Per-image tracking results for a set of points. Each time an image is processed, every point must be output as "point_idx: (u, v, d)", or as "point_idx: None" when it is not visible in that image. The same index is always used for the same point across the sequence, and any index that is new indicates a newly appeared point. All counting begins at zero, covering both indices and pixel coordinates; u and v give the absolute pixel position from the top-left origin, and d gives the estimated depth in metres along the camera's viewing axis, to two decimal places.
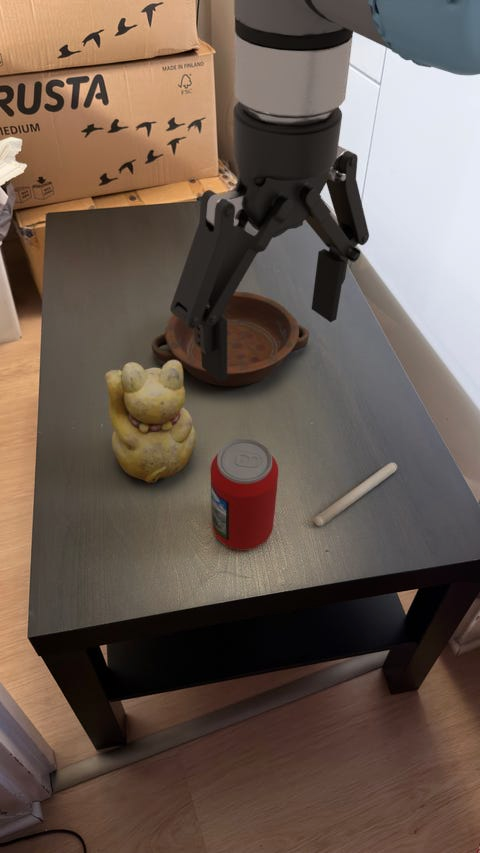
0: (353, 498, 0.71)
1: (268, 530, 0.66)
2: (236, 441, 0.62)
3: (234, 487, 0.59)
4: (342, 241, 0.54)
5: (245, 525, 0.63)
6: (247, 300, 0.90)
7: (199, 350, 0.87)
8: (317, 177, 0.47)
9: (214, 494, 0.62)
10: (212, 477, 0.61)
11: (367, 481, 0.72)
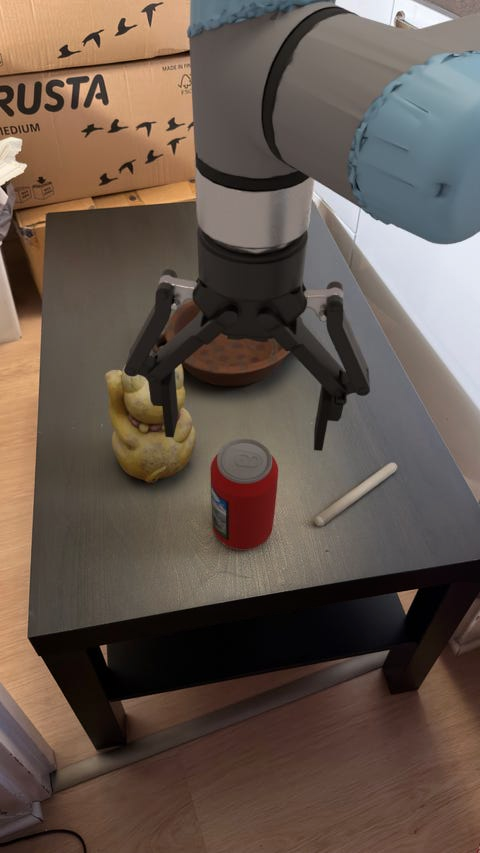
0: (353, 498, 0.71)
1: (268, 530, 0.66)
2: (236, 441, 0.62)
3: (234, 487, 0.59)
4: (326, 379, 0.50)
5: (245, 525, 0.63)
6: None
7: (199, 350, 0.87)
8: (283, 305, 0.45)
9: (214, 494, 0.62)
10: (212, 477, 0.61)
11: (367, 481, 0.72)
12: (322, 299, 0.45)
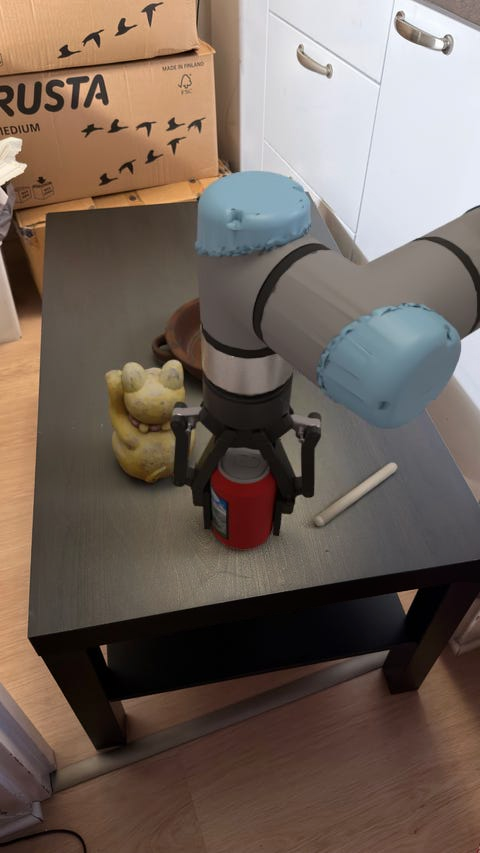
0: (353, 498, 0.71)
1: (268, 530, 0.66)
2: None
3: (234, 487, 0.59)
4: (284, 484, 0.61)
5: (245, 525, 0.63)
6: None
7: (199, 350, 0.87)
8: (275, 424, 0.54)
9: (214, 494, 0.62)
10: (212, 477, 0.61)
11: (367, 481, 0.72)
12: (305, 426, 0.55)
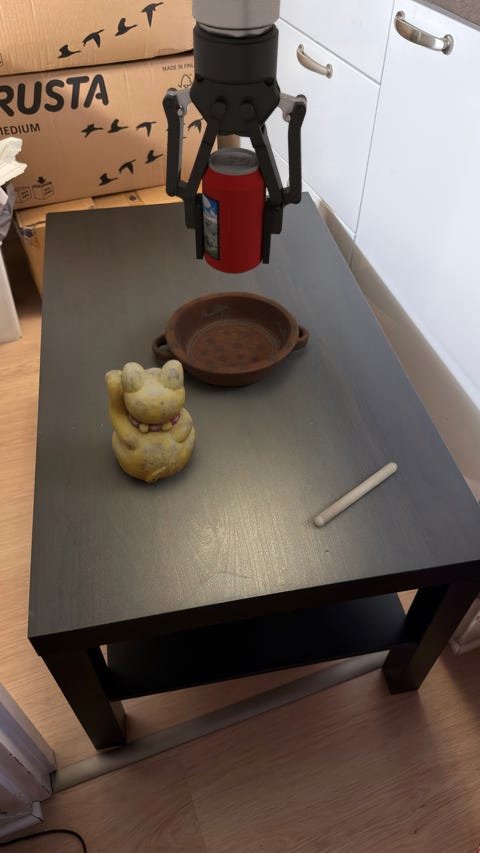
0: (353, 498, 0.71)
1: (258, 252, 0.68)
2: (226, 149, 0.64)
3: (224, 180, 0.61)
4: (272, 186, 0.63)
5: (235, 235, 0.65)
6: (247, 300, 0.90)
7: (199, 350, 0.87)
8: (262, 96, 0.57)
9: (205, 200, 0.64)
10: (203, 178, 0.63)
11: (367, 481, 0.72)
12: (291, 102, 0.58)
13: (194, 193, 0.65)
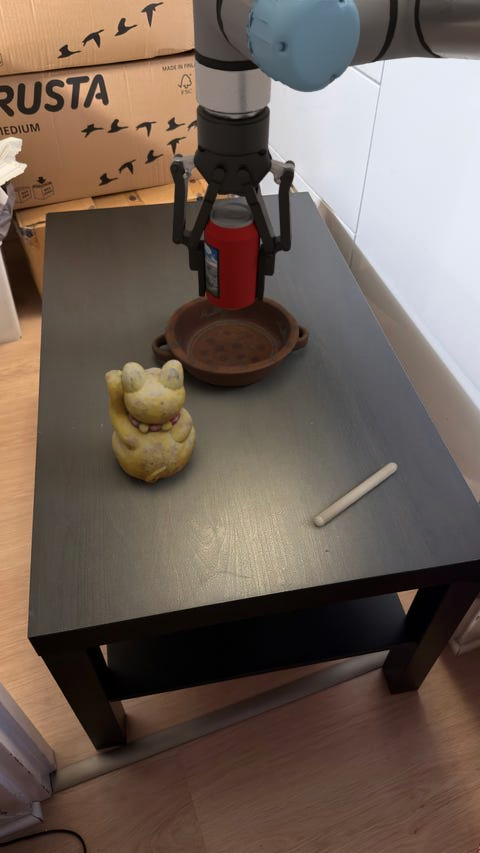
0: (353, 498, 0.71)
1: (253, 291, 0.78)
2: (225, 203, 0.74)
3: (223, 232, 0.71)
4: (265, 236, 0.72)
5: (233, 277, 0.75)
6: None
7: (199, 350, 0.87)
8: (256, 163, 0.66)
9: (207, 247, 0.73)
10: (205, 230, 0.72)
11: (367, 481, 0.72)
12: (281, 168, 0.67)
13: (197, 241, 0.74)
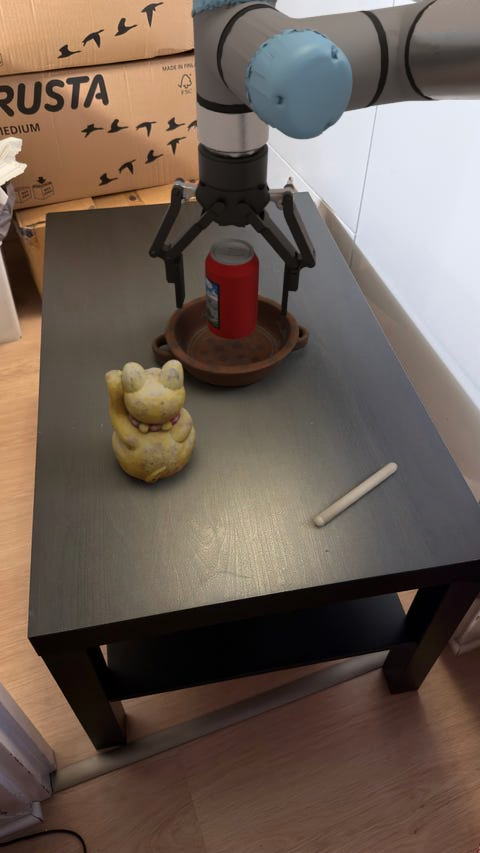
0: (353, 498, 0.71)
1: (252, 322, 0.81)
2: (225, 240, 0.77)
3: (223, 268, 0.74)
4: (285, 255, 0.74)
5: (233, 310, 0.78)
6: None
7: (199, 350, 0.87)
8: (254, 198, 0.69)
9: (208, 282, 0.77)
10: (206, 265, 0.76)
11: (367, 481, 0.72)
12: (279, 194, 0.69)
13: (174, 257, 0.76)
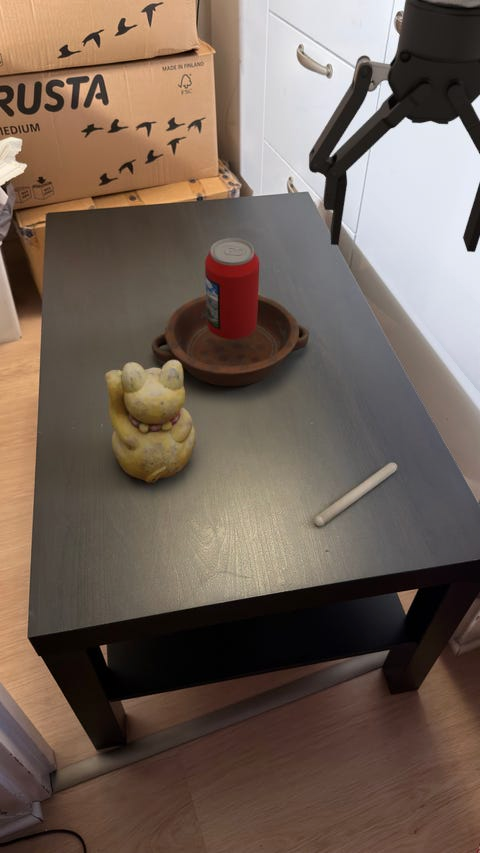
0: (353, 498, 0.71)
1: (252, 322, 0.81)
2: (225, 240, 0.77)
3: (223, 268, 0.74)
4: None
5: (233, 310, 0.78)
6: None
7: (199, 350, 0.87)
8: (471, 79, 0.51)
9: (208, 282, 0.77)
10: (206, 265, 0.76)
11: (367, 481, 0.72)
12: None
13: (343, 171, 0.57)
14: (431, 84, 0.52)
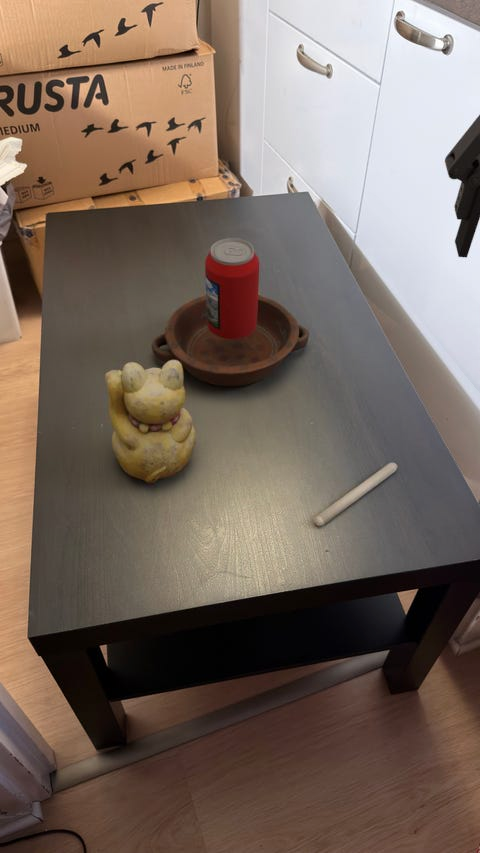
0: (353, 498, 0.71)
1: (252, 322, 0.81)
2: (225, 240, 0.77)
3: (223, 268, 0.74)
4: None
5: (233, 310, 0.78)
6: None
7: (199, 350, 0.87)
8: None
9: (208, 282, 0.77)
10: (206, 265, 0.76)
11: (367, 481, 0.72)
12: None
13: None
14: None
